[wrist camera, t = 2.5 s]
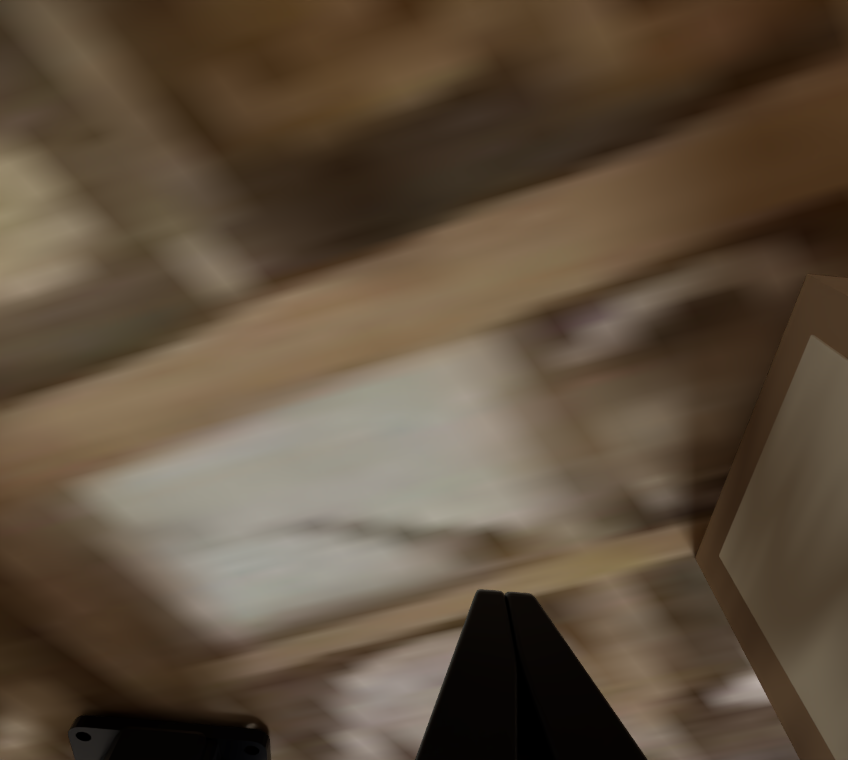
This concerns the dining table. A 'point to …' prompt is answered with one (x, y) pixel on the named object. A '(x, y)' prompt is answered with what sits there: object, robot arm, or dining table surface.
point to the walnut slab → (793, 527)
